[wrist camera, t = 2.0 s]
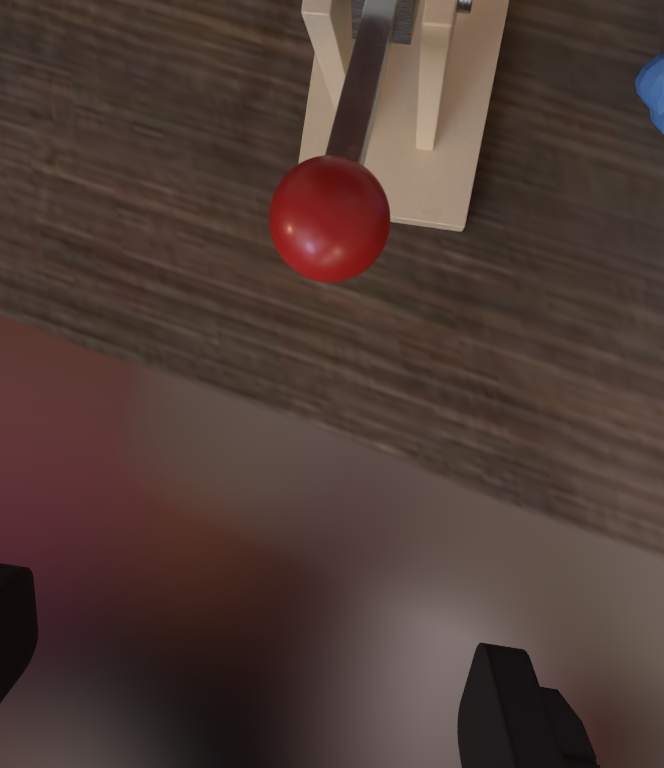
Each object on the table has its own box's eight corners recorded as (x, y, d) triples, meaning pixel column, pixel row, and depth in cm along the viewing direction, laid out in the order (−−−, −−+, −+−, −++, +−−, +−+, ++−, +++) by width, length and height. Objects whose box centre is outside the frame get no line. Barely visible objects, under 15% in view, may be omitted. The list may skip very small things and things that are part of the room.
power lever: (377, 310, 16) (380, 248, 13) (268, 293, 17) (242, 227, 13) (438, 8, 20) (454, -103, 17) (348, -1, 20) (345, -111, 17)
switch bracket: (462, 232, 30) (506, 160, 17) (297, 208, 31) (214, 124, 18) (505, 11, 28) (594, -270, 15) (329, -5, 30) (263, -278, 16)
